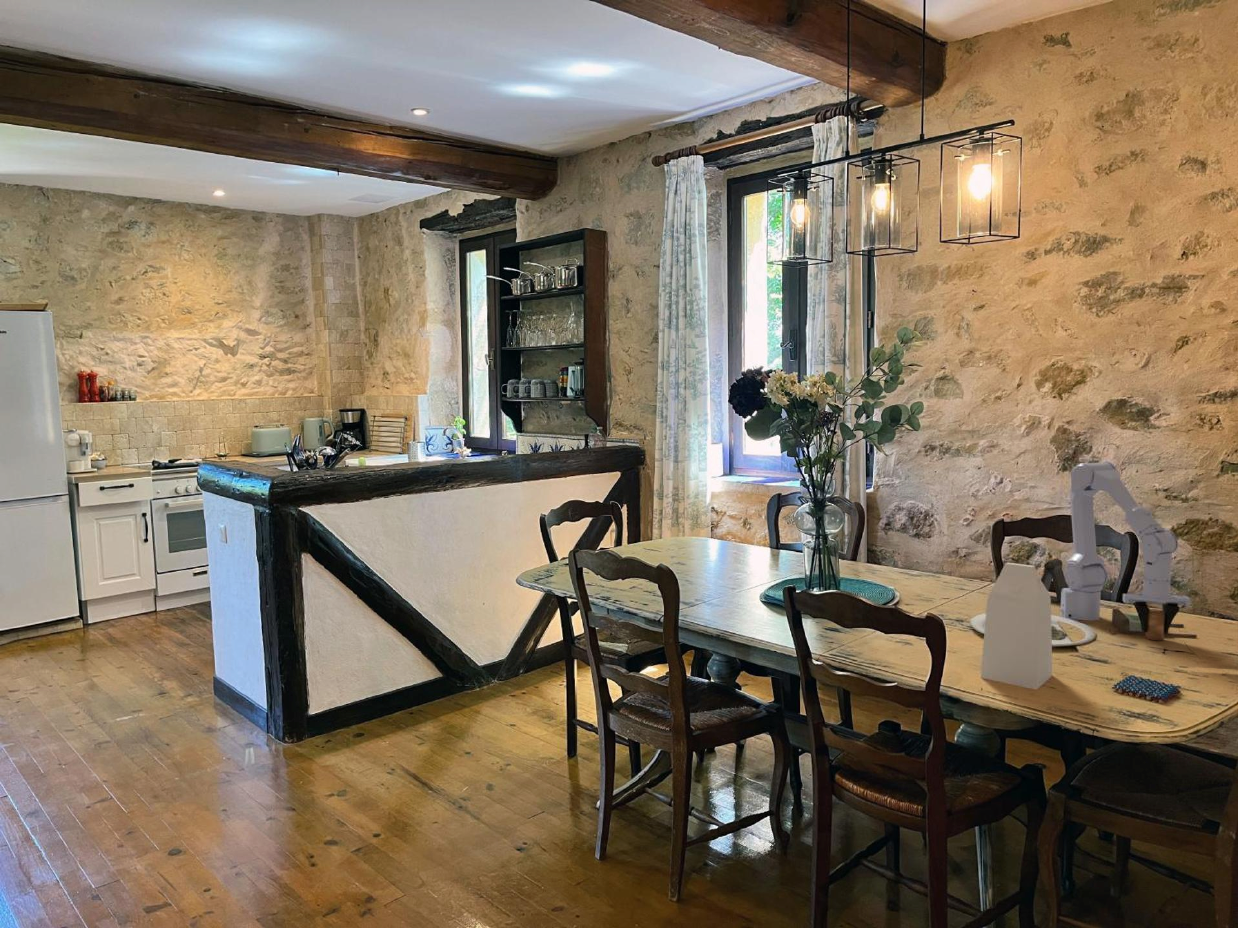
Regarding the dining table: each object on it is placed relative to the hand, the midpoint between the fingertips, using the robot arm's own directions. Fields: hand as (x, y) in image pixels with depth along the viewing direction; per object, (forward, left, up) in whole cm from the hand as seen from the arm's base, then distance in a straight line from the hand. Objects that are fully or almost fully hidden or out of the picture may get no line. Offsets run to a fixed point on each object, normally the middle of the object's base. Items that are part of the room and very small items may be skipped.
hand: (1154, 631), depth 218 cm
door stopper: (-16, +40, -3) cm, 43 cm away
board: (+2, +5, -3) cm, 6 cm away
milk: (-37, -33, -3) cm, 50 cm away
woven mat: (-12, -37, -4) cm, 39 cm away
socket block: (-1, +8, -2) cm, 8 cm away
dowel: (0, 0, -2) cm, 2 cm away
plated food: (-28, +3, -3) cm, 28 cm away
